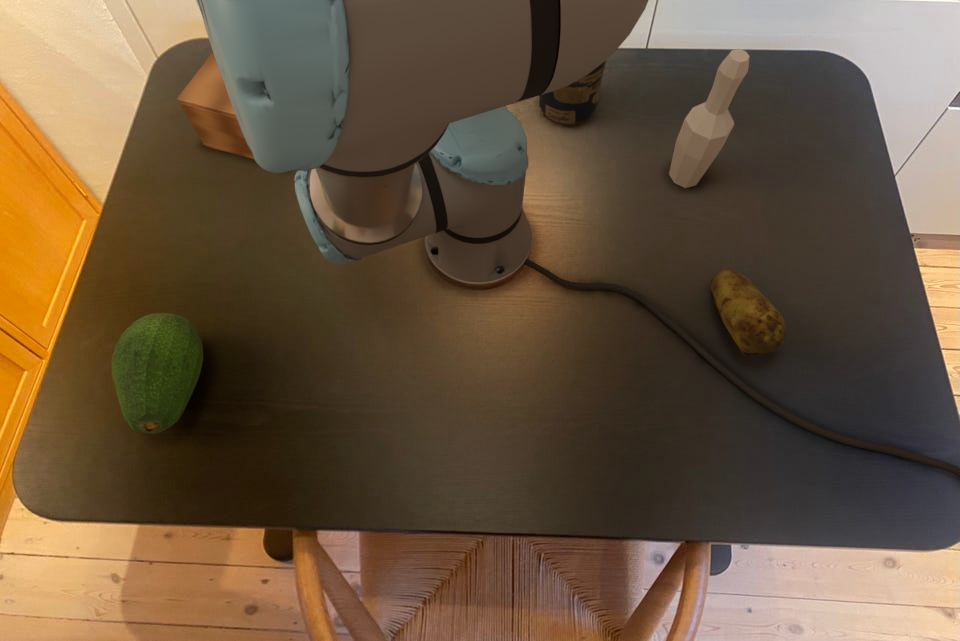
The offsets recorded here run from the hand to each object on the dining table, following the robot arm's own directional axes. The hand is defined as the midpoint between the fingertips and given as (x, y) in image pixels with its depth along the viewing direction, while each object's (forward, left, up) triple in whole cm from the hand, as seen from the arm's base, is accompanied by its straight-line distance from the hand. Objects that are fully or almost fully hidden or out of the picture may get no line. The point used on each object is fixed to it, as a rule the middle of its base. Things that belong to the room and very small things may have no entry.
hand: (347, 139), depth 93 cm
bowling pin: (-51, -12, -2) cm, 52 cm away
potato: (-62, +11, -2) cm, 63 cm away
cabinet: (+15, 0, -2) cm, 15 cm away
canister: (-30, -20, -2) cm, 36 cm away
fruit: (+5, +43, -2) cm, 44 cm away
